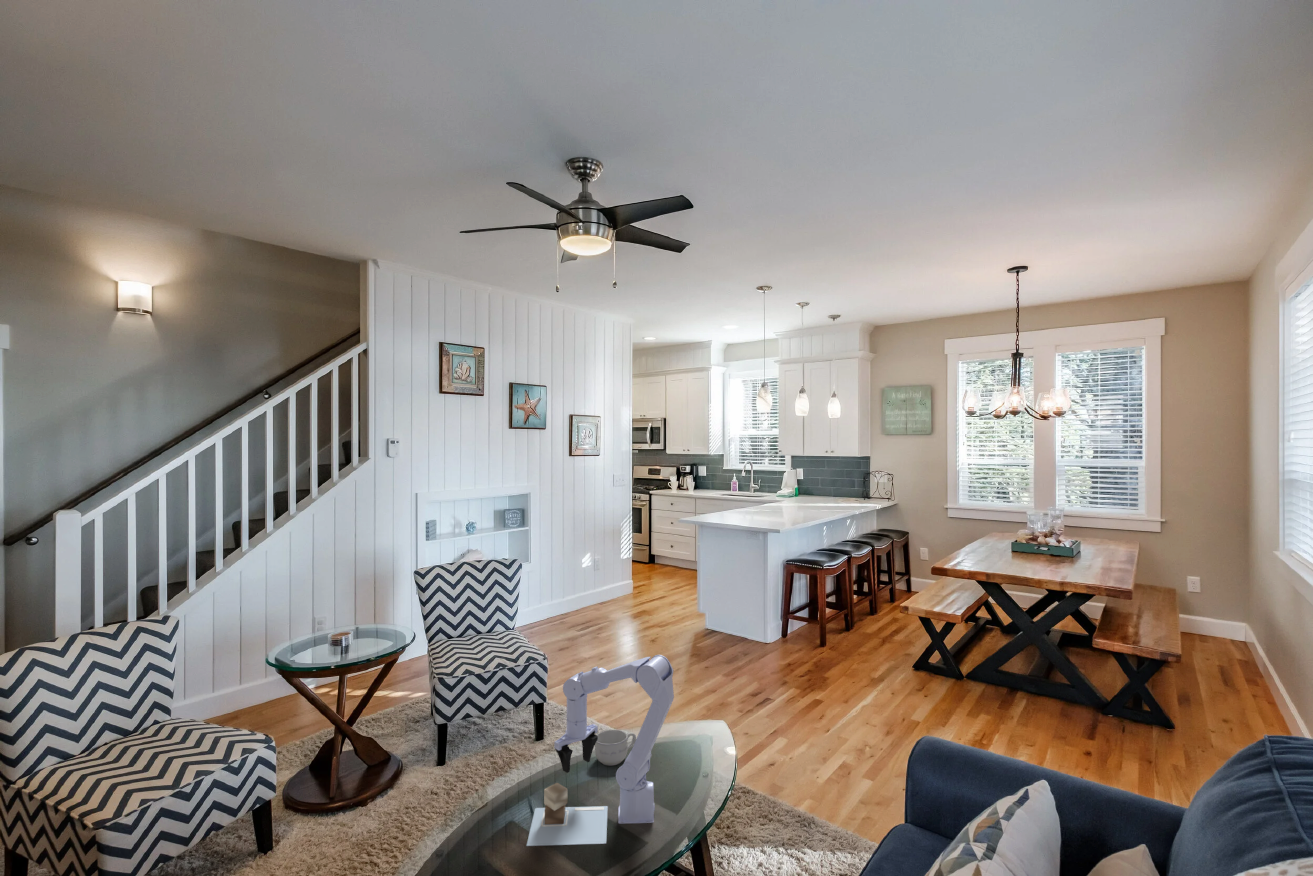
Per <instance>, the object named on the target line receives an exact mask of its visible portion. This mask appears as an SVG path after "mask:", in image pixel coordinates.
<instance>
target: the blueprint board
mask: <svg viewBox="0 0 1313 876" xmlns="http://www.w3.org/2000/svg"><path fill="white" fill-rule="evenodd" d="M608 808H609V806H608V805H603V806H602V805H601V806H600V805H599V806H595V805H594V806H592V805H591V806H565V818H564V824H545V807H535V808H534V813H533V815H532V821H531V824H530V827H529V828H530V829H529V832H528V833H529V834H528V839H527V840H526V841H527V842H526V846H525V847H535V846H536V847H539V846H565V845H567V846H571V845H601V844H603V845H605V844H607V837H608V836H607V835H608V834H607V833H608V830H607V828H608V811H609V810H608Z"/></svg>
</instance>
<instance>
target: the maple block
mask: <svg viewBox="0 0 1313 876" xmlns="http://www.w3.org/2000/svg"><path fill="white" fill-rule="evenodd" d="M568 789H569V788H567V787H565V786H564V785H562V784H560V783H559V782H556V783H554V784H552V785H550V786H547V787H546V788H544V790H543V791H544V792H543V796H544V797H543V799H544V800H543V804H544V805H545V806H548V807H549V808H551V809H553V810H554V811H555V810H557V809H559V808H560V807H562V806H564V805H565V806H566V805H567V804H568V794H569V793H568Z"/></svg>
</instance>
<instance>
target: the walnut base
mask: <svg viewBox="0 0 1313 876" xmlns="http://www.w3.org/2000/svg"><path fill="white" fill-rule="evenodd" d="M565 807H566V805H564V806H562V807H560V808H559V809H557V810H555V811H554V810H553V809H551V808H549V807H548V806H546V805H545V806H544V808H545V824H564V818H565Z"/></svg>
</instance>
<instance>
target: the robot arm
mask: <svg viewBox="0 0 1313 876" xmlns="http://www.w3.org/2000/svg"><path fill="white" fill-rule="evenodd" d="M673 675H674V668H673V666H672V664H671V662H670V661H669V659H668V658H667V657H666V656H664V655H662V654H656V655H653V656H652V657H651V656H645V657H642V658H639V659H636V660H633V661H630V662H627V663H625V664H622V665H621V664H620V665H619V666H616V667H613V668H611V669H608V670H607V669H606V668H604V667H598V666H594V667H592V668H591V670H589V671H586V672H584V671H580V672H578V673H576V674H574V675H572V676H571V677H569V678H568V679H567V680H566V681H564V683H563V686H562V690H563V691H562V692H563V695H564V696H565V697H566V729H565V733H564V734H563V735H562V736H560V738H558V739H557V740H554V742H553V743H554V744H553V745H554V750H555V751H556V754H557V755H558V757H559V761H560V764H561V768H562V771H563V772H564V773H567V774H568V773H570V770H571V759H572V754H573V751H574V750H573V749H571V748H570V746H569V745H571V744H573V743H576V742H581V745H582V759H583V761H584V762H587V763H590V762H591V757H592V753H593V749H595V743H596V742H597V740H598V736H597V735H596V734H598V733H599V731H598V729H599V727H598V725H596V724H594V723H592V724H589V725H588V723H587V722H588V716H587V715H588V714H587V713H588V695H589V694H592V693H595V692H599V691H603V690H606V689H607V688H608V687H609V686H610V683H614V682H618V681H621V680H622V681H623V680H626V679H627V680H628V679H631V680H632V681H633V682H634V683H635V684H637V683H638V684H639V685H640V687H641V688H642V689H643V690H644V692H645V693H646V694H647V695H648V697H650V699H651V701H652V702H651V704H650V706H649V709H648V711H647V713H646V715H645V718H644V720H643V722H642V724H641V727H640V730H639V732H638V734H637V736H636V741H635V743H634V744H633V746H632V747H631V750H630V752H629V754H627V756H626V757H625V759H624V762H623V764H622V765H621V766H619V768H617V770H616V772H615V779H616V782H617V784H618V786H619V806H618V810H617V811H618V814H617V815H618V816H617V817H618V819H617V820H618V821H617V822H618V824H621V825H622V824H624V825H625V824H647V823H648V824H650V823H651V824H652V823H654V822H655V821H654V819H655V818H654V817H655V816H654V815H655V814H654V813H655V810H656V807H655V805H656V804H655V799H654V798H655V792H654V790H655V789H654V781H648V780H647V773H648V772H649V771H650V770H651V769H650V768H651V759H652V750H653V748H654V745H655V743H656V741H657V738H658V736H659V734H660V732H661V729H662V727H663V724H664V723H665V720H666V717H667V716H668V713H669V711H670V708H671V706H672V704H673V702H674V698H675V696H674V695H675V694H674V684H673V683H674V682H673Z"/></svg>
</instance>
